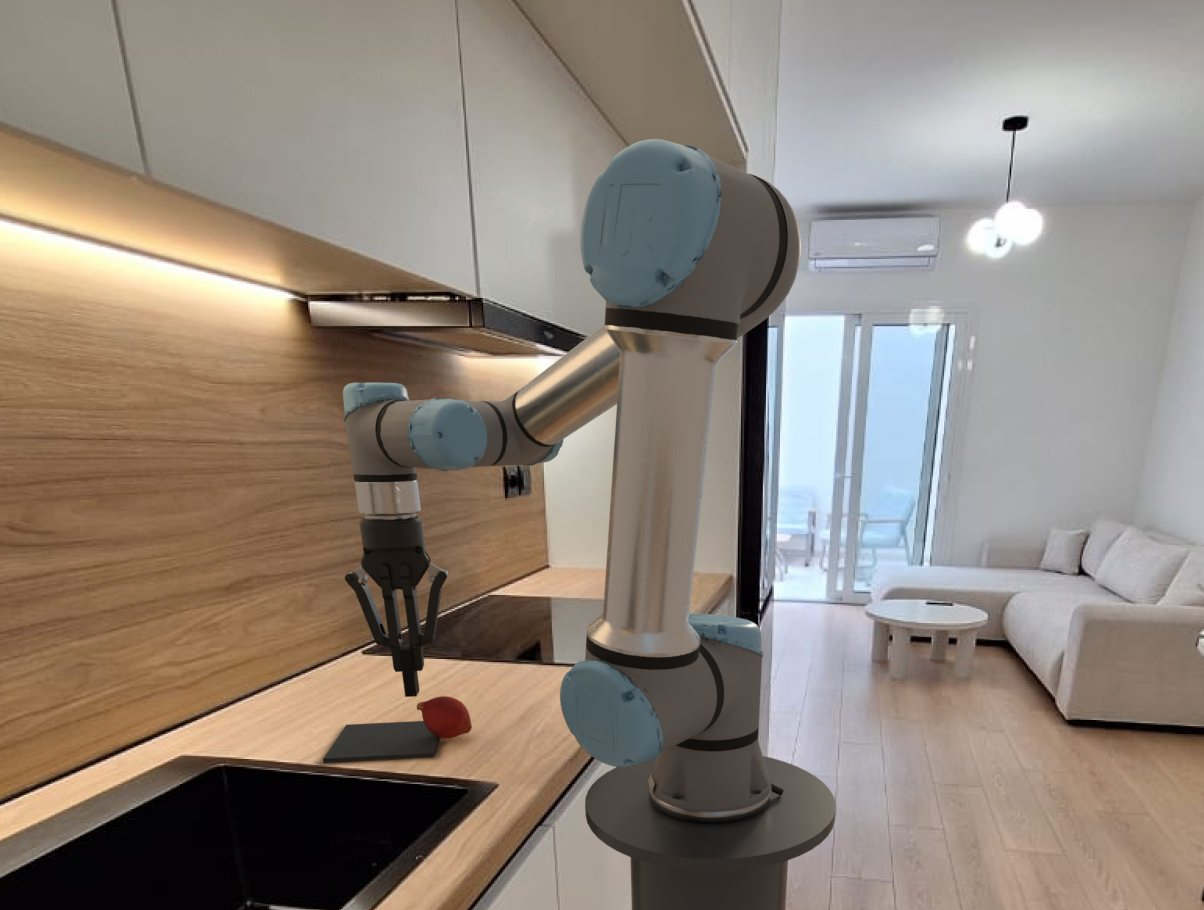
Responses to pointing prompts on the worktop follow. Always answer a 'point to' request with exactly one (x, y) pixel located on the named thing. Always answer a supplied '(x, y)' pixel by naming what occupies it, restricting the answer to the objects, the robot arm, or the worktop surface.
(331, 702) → the worktop surface
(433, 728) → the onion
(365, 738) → the mat
